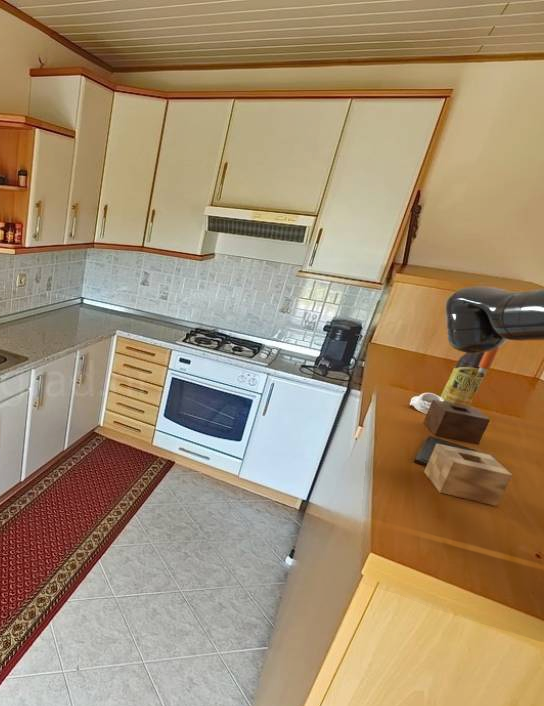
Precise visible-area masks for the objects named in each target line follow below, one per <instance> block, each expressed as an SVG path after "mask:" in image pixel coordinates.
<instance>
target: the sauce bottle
mask: <svg viewBox="0 0 544 706" xmlns="http://www.w3.org/2000/svg"><path fill="white" fill-rule="evenodd" d="M484 353H485V352H482V353H464V354H463V355H461V356H460V357H459V359H458V360H457V363H456V365H455V366H454V368H453V370H452V372H451V374H450V376H449V378H448V380H447V381H446V385H445V386H444V388H443V390H442V392H441V395H440V397H441V398H442V399H443V400H444V402H448V403H453V404H459V405H464V406H469V407H471V404H472V402H473V400H474V399H475V396H476V394H477V392H478V390H479V388H480V385H481V383H482V381H483V380H484V378H485V375H486V374H487V372H486V373H481V372H478V371H479V368H480V367H478V366H479V364H480V362H481V359H482V357H483V355H484Z"/></svg>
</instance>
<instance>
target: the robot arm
mask: <svg viewBox="0 0 544 706" xmlns="http://www.w3.org/2000/svg"><path fill="white" fill-rule="evenodd" d="M445 318H446V330H447V331H446V332H447V333H446V334H447V341H448V343H449V345H450V346H451V347H452V348H453V349H454V350H456V351H458V352H462V353H464V354H466V353H482V352H487V351H490V350H493V349H496V348H498V347H499V348H500V347H502V346H503V345H504V344H505V343H507V341H508V340H509V341H521V342H523V341H524V342H525V341H544V288H539V289H530V290H522V291H517V290H516V291H515V290H508V289H505V288H504V289H503V288H499V287H494V286H488V285H487V286H486V285H472V286H466V287H462V288H460V289H457V290H455V291H454V292H453V293H452V294H450V295H449V297H448V298H447V300H446V301H445Z"/></svg>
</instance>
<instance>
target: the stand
mask: <svg viewBox="0 0 544 706" xmlns="http://www.w3.org/2000/svg"><path fill="white" fill-rule="evenodd" d="M484 453H485V452H484ZM484 453H479V452H474V451H470V450H465V449H460V448H456V447H451V446H447V445H442V444H437V443H436V445H435V448H434V450H433V452H432V455H431V457H430V459H429V462H428V464H427V466H425V469H424V471H423V472H424V474H425V475H426V477H427V478H428V479H429V480H430V482H431V483H432V484H433V486H434V487H435V488H436V489H437V491H438V492H439V493H440V494H445V495H448V496H451V497H457V498H461V499H465V500H468V501H473V500H474V501H473V502H477V501H478V503H482V504H486V505H489V506H493V507H497V506H498V505H499V503H500V500H501V499H502V497H503V495H504V493H505V491H506V489H507V487H508V485H509V482H510V480H511V479H512V477H513V474H512V473H511V472H510V471H509V470H507V468H505V467H504V466H503V465H502V464H501V463H500V462H499V461H498V460H496V458H495V457H494V458H493V457H492V456H491V455H492V454H490V455H488V454H489V453H487V454H484Z"/></svg>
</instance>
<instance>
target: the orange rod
mask: <svg viewBox="0 0 544 706" xmlns="http://www.w3.org/2000/svg"><path fill="white" fill-rule="evenodd" d="M499 349H500V347H498V348H496V349H493V350H490V351H487V352H485V353H484V355H483V357H482V359H481V362H480V364H479V366H478V367H480V368H479V371H478V372H481V373H486V374H487V371H488V370H490V369H491V367H492V365H493V362H494V361H495V358H496V356H497V354H498V352H499Z"/></svg>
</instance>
